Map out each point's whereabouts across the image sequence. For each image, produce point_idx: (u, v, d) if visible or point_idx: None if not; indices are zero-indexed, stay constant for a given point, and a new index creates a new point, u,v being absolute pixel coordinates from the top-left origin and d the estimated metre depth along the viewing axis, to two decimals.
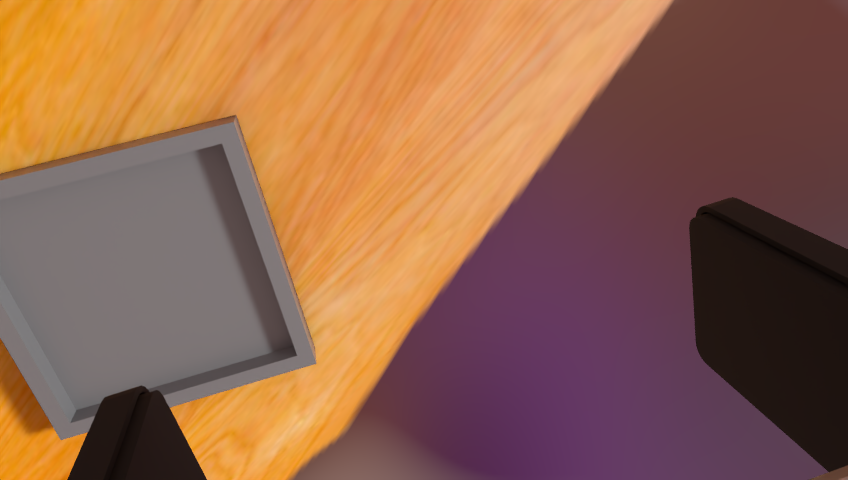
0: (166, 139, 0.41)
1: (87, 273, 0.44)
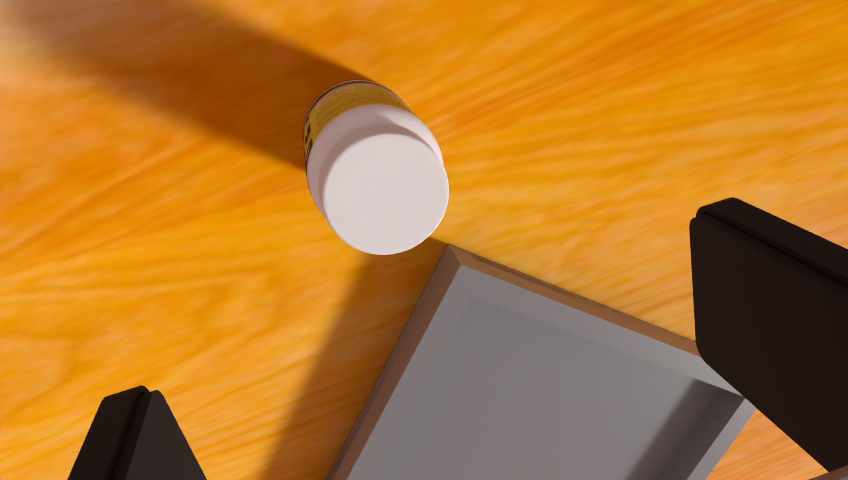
0: None
1: (489, 423, 0.33)
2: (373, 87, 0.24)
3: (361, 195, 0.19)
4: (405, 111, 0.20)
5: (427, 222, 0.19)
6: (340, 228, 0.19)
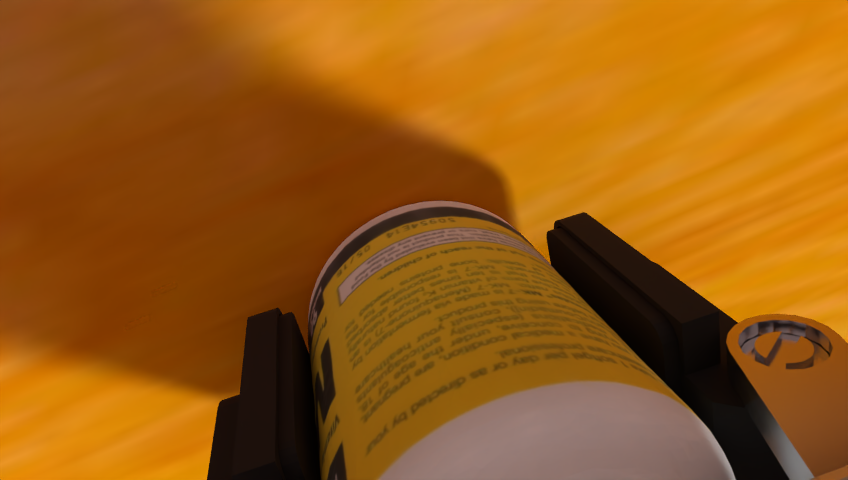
0: None
1: None
2: (486, 239, 0.10)
3: None
4: (655, 396, 0.06)
5: None
6: None
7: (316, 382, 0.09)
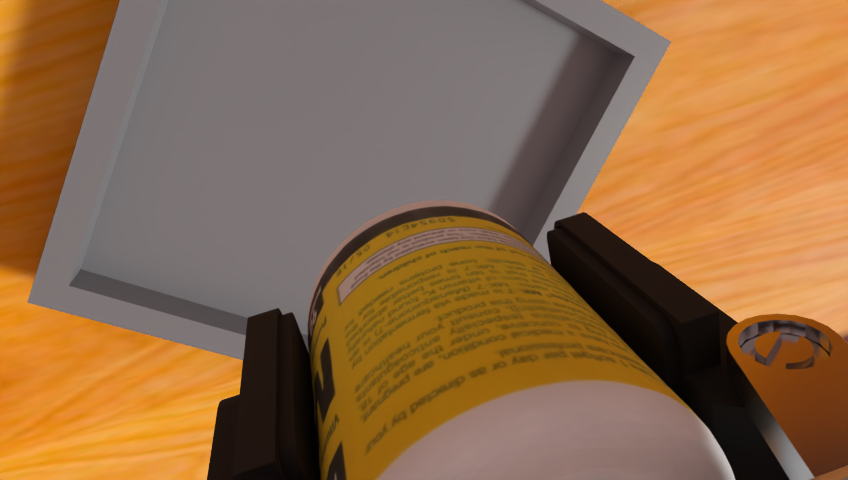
0: None
1: (295, 84, 0.25)
2: (485, 238, 0.10)
3: None
4: (655, 396, 0.06)
5: None
6: None
7: (316, 382, 0.09)
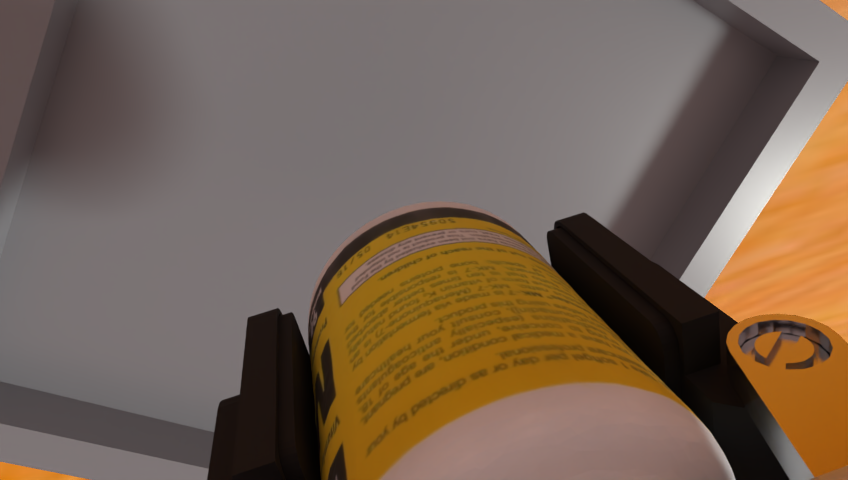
0: None
1: (298, 97, 0.16)
2: (486, 239, 0.10)
3: None
4: (656, 398, 0.06)
5: None
6: None
7: (316, 383, 0.09)
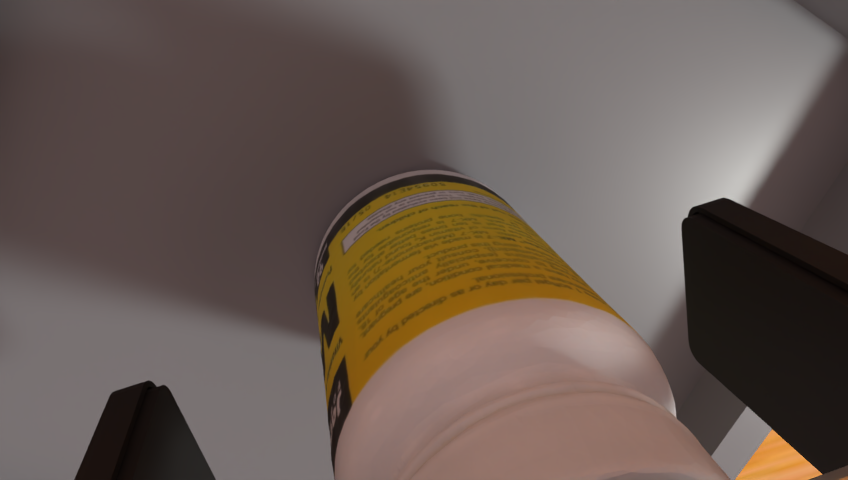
0: None
1: (296, 139, 0.12)
2: (471, 199, 0.11)
3: None
4: (601, 313, 0.08)
5: None
6: None
7: (322, 320, 0.10)
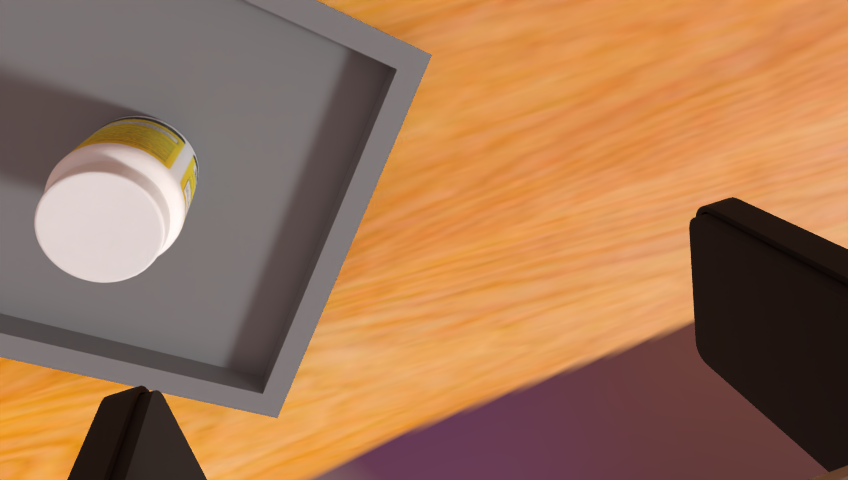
0: (338, 12, 0.26)
1: (69, 103, 0.26)
2: (136, 123, 0.25)
3: (73, 228, 0.20)
4: (135, 148, 0.22)
5: (146, 251, 0.21)
6: (58, 259, 0.20)
7: None
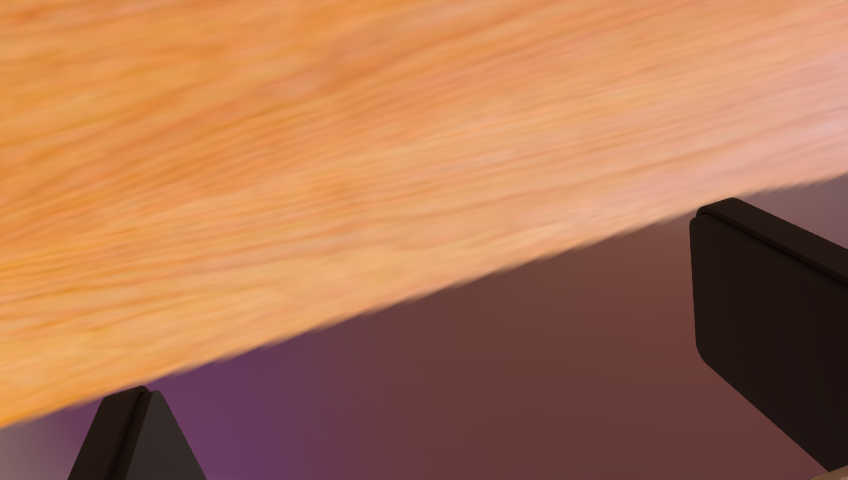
0: None
1: None
2: None
3: None
4: None
5: None
6: None
7: None
